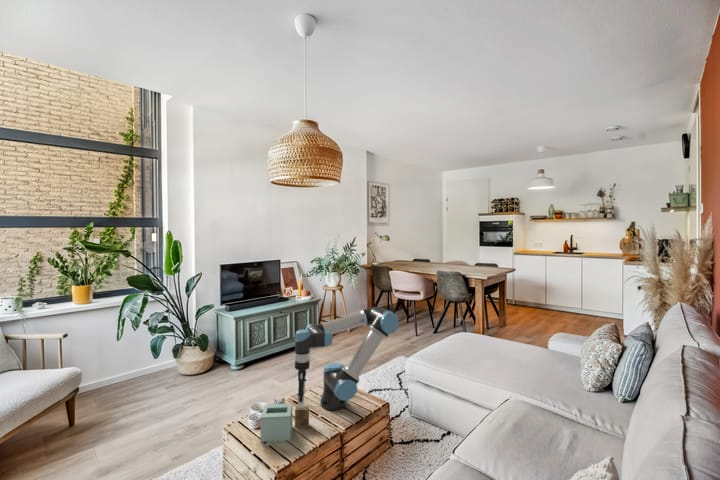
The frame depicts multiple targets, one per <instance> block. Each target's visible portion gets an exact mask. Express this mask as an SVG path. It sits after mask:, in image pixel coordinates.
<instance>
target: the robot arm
mask: <svg viewBox="0 0 720 480" xmlns="http://www.w3.org/2000/svg"><path fill="white" fill-rule="evenodd" d="M362 326H363V327H368V326H369V331H368V333H367V334H366V336H365V338H364V339H363V341H361V343H360V345H359V347H358V348H357V349H356V351H355V352H354V354H353V356H352V357H351V359H350V360H349V362H348V363H347V365H346V366H344V364H343V363H339V362H333V363H332V362H331V363H328V364H326V365H324V367H323V392H322V395H321V398H320V402H319V403H320V407H322V409H325V410H327V411H339V410H341V409H343V408H345V407H346V405H347V401H348V400H351V399H353V398H354V397H355V396H356V394H357V392H358V386H357V385H358V383H359V381H360V375H361V374H362V372H363V370H364V369H365V368H366V366H367V364H368V363H369V361H370V359H371V358H372V357H373V355H374V353H375V352H376V350H377V349H378V347H379V346H380V344H381V342H382V341H383V340H384V339H387V338H388V337H389V335H391V334H394V333H395V332H396V331H397V330H398V328H399V318H398V316H397V315H396V314H395V313H394V312H392V311H391V310H389V309H386V308H384V307H381V306H372V307H369V308H365V309H362V310H361V309H360V310H359V312H357V313H354V314H350V315H347V316H342V317H340V318H336V319H332V320H329V321H325V322H322V323H318V324H313V323H309V324H308V325H306V327H305V329H304V328H303V329H298V330H297V331H296V332H295V337H294V338H295V339H294V345H295V347H294V354H293V356H294V368H295V370H297V371H298V373H297V377H298V378H297V381H298V389H297V390H298V391H297V392H298V393H296V396H297V407H298V408H304V407H305V406H304V401H305V399H304V398H305V394H306V383H307V379H306V376H307V370H308V369H309V368H310V365H311V364H310V363H311V361H310V359H311V355H310V354H311V351H310V350H311V349H315V348H323V347H324V348H325V347H330V346H332V344H333V334H338V333H341V332H344V331H348V330H351V329H354V328H357V327H358V328H359V327H362Z"/></svg>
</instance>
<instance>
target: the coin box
mask: <svg viewBox="0 0 720 480" xmlns="http://www.w3.org/2000/svg"><path fill="white" fill-rule="evenodd" d="M259 419H260V421H259V422H260V423H259V424H260V425H259V426H260V428H259V429H260V438H259V439H260V443H264V442H267V443H268V442H282V441H284V442H285V441H291V437H292V429H293V403H290V402H289V403H285V404H274V403H273V404H267V403H266V404H264V406H263V408H262V412H261V415H260V418H259Z"/></svg>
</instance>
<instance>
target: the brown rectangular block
mask: <svg viewBox="0 0 720 480" xmlns="http://www.w3.org/2000/svg"><path fill="white" fill-rule="evenodd" d="M309 426H310V406H309V405H308V406H304V408H298V406H295V408H294V427H295V428H302V427H304V428H306V427H309Z"/></svg>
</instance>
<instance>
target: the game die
mask: <svg viewBox="0 0 720 480" xmlns="http://www.w3.org/2000/svg"><path fill="white" fill-rule="evenodd" d="M273 400H274V402H273V404H286V402H285V397H283V398H282V399H281V398H280V399H276V398H274V399H273Z"/></svg>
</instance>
